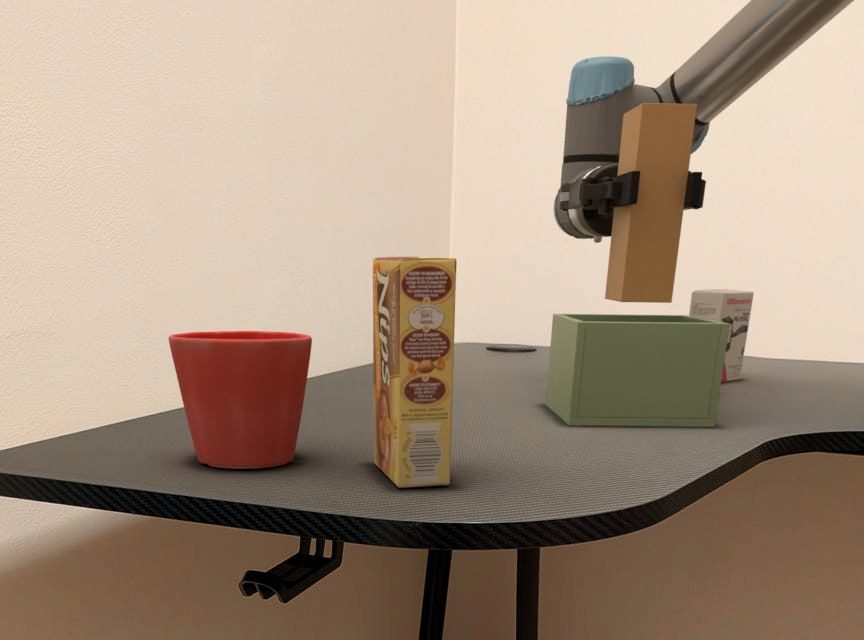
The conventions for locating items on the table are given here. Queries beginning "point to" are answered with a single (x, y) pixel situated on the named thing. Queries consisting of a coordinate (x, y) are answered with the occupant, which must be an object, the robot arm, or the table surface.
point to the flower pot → (242, 394)
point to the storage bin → (636, 369)
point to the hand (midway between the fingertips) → (665, 187)
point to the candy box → (413, 368)
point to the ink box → (728, 310)
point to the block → (651, 202)
